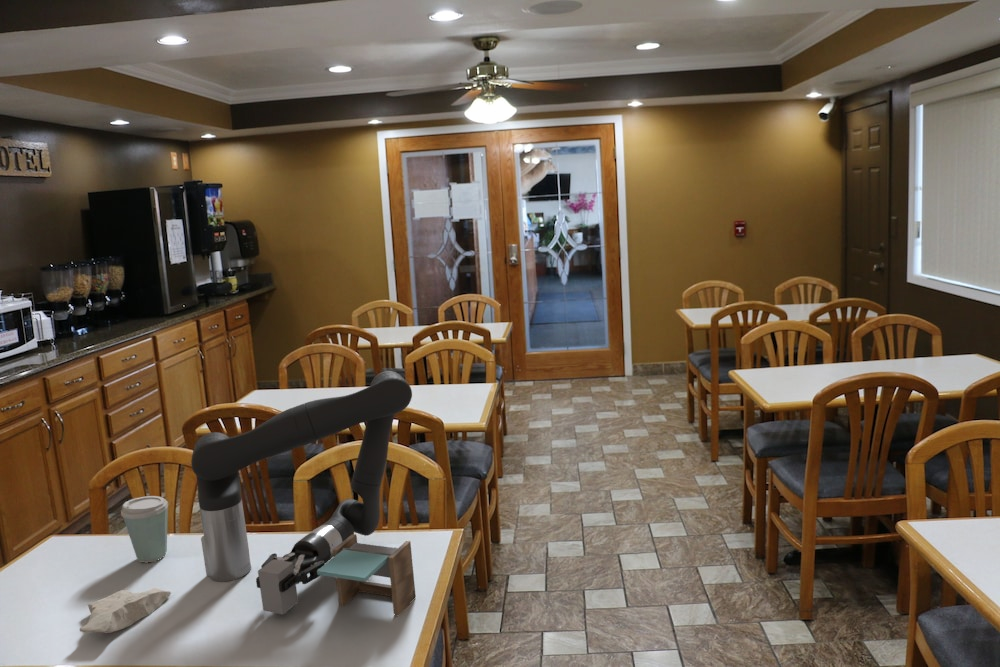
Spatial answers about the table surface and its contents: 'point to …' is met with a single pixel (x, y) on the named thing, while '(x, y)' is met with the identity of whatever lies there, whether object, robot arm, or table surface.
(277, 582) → the granite pillar
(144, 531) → the disposable coffee cup
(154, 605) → the rock
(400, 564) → the flap stand
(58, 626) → the table surface
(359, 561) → the trapdoor flap
